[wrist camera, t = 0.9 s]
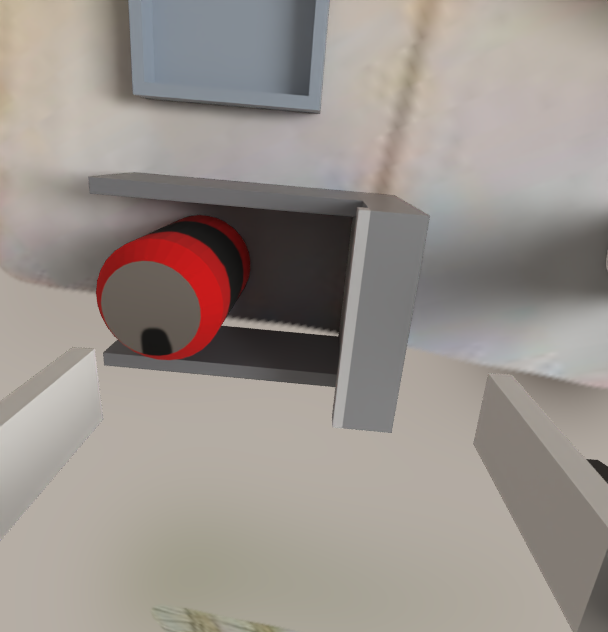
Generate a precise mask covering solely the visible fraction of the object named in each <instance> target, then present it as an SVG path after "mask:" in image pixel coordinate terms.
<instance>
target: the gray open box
mask: <svg viewBox="0 0 608 632" xmlns="http://www.w3.org/2000/svg"><path fill="white" fill-rule="evenodd" d="M89 189H90V193H91V194H102V195H114V196H125V197H136V198H147V199H159V200H170V201H181V202H192V203H204V204H215V205H226V206H238V207H249V208H260V209H271V210H283V211H294V212H305V213H316V214H328V215H339V216H350V217H352V226H351V234H350V243H349V251H348V260H347V268H346V277H345V285H344V294H343V302H342V311H341V319H340V328H339V336H338V337H337V336H326V335H315V334H305V333H293V332H283V331H271V330H261V329H251V328H250V329H249V328H240V327H228V326H221V327H220V328H219V330H218V332H217V333H216V335H215V336H214V338H213V339H212V340H211V342H210V343H209V344H208V345H207V346H205V347H204V348H203V349H202V350H201V351H199V352H197V353H195V354H194V355H192V356H189V357H185V358H182V359H176V360H157V359H153V358H149V357H145V356H143V355H141V354H138V353H136V352H134V351H132V350H131V349H129V348H128V347H126V346H125V345H123V344H122V343H121V342H120V341H119V340H117V341H116V342H115V343H113V344H112V345H111V346H110V347H109V348H108V349H107V350H106V351H104V353H103V356H104V365H107V366H108V365H109V366H119V367H129V368H139V369H151V370H160V371H171V372H182V373H192V374H203V375H213V376H224V377H234V378H245V379H256V380H266V381H277V382H287V383H298V384H309V385H320V386H330V387H336V388H335V396H334V404H333V413H332V427H335V428H347V429H356V430H367V431H378V432H388V433H392V427H393V421H394V416H395V410H396V404H397V399H398V393H399V387H400V381H401V376H402V371H403V365H404V359H405V353H406V348H407V342H408V337H409V331H410V325H411V320H412V314H413V309H414V303H415V297H416V292H417V286H418V280H419V275H420V269H421V263H422V258H423V252H424V247H425V241H426V235H427V230H428V224H429V218H430V216H429V215H427V214H426V213H424V212H422V211H421V210H419V209H417V208H416V207H414V206H412V205H411V204H409V203H407V202H405V201H404V200H402V199H400V198H399V197H397V196H395V195H386V194H374V193H363V192H352V191H340V190H329V189H318V188H306V187H295V186H284V185H272V184H261V183H249V182H238V181H227V180H215V179H204V178H193V177H181V176H170V175H158V174H147V173H136V172H133V173H122V174H112V175H101V176H91V177H89Z"/></svg>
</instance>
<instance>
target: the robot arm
mask: <svg viewBox="0 0 608 632" xmlns="http://www.w3.org/2000/svg"><path fill="white" fill-rule="evenodd" d="M102 420H103V414H102V405H101V396H100V388H99V380H98V371H97V363H96V354H95V349H92V348H75V347H72V348H71V349H69V350H68V351H67V352H65V353H64V354H63V355H61V356H60V357H59V358H57V359H56V360H55V361H53V362H52V363H51V364H49V365H48V366H47V367H46V368H44V369H43V370H42V371H40V372H39V373H37V374H36V375H35V376H33V377H32V378H31V379H29V380H28V381H27V382H25V383H24V384H23V385H21V386H20V387H19V388H17V389H16V390H15V391H13V392H12V393H11V394H9V395H8V396H7V397H5V398H4V399H2V400H1V401H0V541H1V540H2V538H3V537H4V536H5V535H6V534H7V533H8V531H9V530H10V529H11V528H12V526H13V525H14V524H15V523H16V522H17V521H18V520H19V518H20V517H21V516H22V515H23V513H24V512H25V511H26V510H27V509H28V508H29V507H30V505H31V504H32V503H33V502H34V501H35V499H36V498H37V497H38V496H39V495H40V494H41V492H42V491H43V490H44V489H45V488H46V486H47V485H48V484H49V483H50V482H51V480H52V479H53V478H54V477H55V476H56V475H57V473H58V472H59V471H60V470H61V469H62V467H63V466H64V465H65V464H66V463H67V462H68V461H69V459H70V458H71V457H72V456H73V455H74V453H75V452H76V451H77V450H78V448H79V447H80V446H81V445H82V444H83V442H84V441H85V440H86V439H87V438H88V437H89V436H90V434H91V433H92V432H93V431H94V430H95V429H96V427H97V426H98V425H99V424H100V422H102ZM474 446H475V448H476V450H477V452H478V453H479V455H480V457H481V459H482V461H483V463H484V465H485V467H486V469H487V470H488V472H489V474H490V476H491V478H492V480H493V482H494V484H495V486H496V487H497V489H498V491H499V493H500V495H501V497H502V499H503V501H504V503H505V504H506V506H507V508H508V510H509V512H510V514H511V516H512V518H513V520H514V521H515V523H516V525H517V527H518V529H519V531H520V533H521V535H522V536H523V538H524V540H525V542H526V544H527V546H528V548H529V550H530V552H531V553H532V555H533V557H534V559H535V561H536V563H537V565H538V567H539V569H540V571H541V572H542V574H543V576H544V578H545V580H546V581H547V584H548V586H549V587H550V589H551V591H552V593H553V595H554V597H555V599H556V600H557V603H558V604H559V606H560V608H561V610H562V612H563V614H564V616H565V617H566V620H567V621H568V623H569V625H570V627H571V629H572V631H573V632H608V466H606V465H605V464H603V463H602V462H600V461H598V460H591V459H590V460H589V459H585V458H584V456H583V455H582V454H581V453H580V452H579V451H578V450H577V449H576V447H575V446H574V445H573V444H572V443H571V442H570V440H569V439H568V438H567V437H566V436H565V435H564V434H563V433H562V431H561V430H560V429H559V428H558V427H557V426H556V425H555V423H554V422H553V421H552V420H551V419H550V418H549V417H548V415H547V414H546V413H545V412H544V411H543V410H542V409H541V407H540V406H539V405H538V404H537V403H536V402H535V401H534V400H533V398H532V397H531V396H530V395H529V394H528V393H527V392H526V390H525V389H524V388H523V387H522V386H521V385H520V384H519V382H517V380H516V379H515V378H514V377H513V376H512V375H508V374H492V373H489V374H488V377H487V382H486V387H485V391H484V396H483V401H482V406H481V410H480V415H479V420H478V425H477V429H476V434H475V439H474Z"/></svg>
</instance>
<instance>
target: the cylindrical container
mask: <svg viewBox="0 0 608 632" xmlns="http://www.w3.org/2000/svg"><path fill="white" fill-rule="evenodd" d="M606 268H607V271H608V250H607V256H606Z"/></svg>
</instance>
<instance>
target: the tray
mask: <svg viewBox="0 0 608 632" xmlns="http://www.w3.org/2000/svg"><path fill="white" fill-rule="evenodd" d="M128 1H129V22H130V43H131V64H132V85H133V95H137V96H140V97H143V98H146V99H156V100H167V101H179V102H191V103H202V104H214V105H226V106H237V107H249V108H261V109H273V110H284V111H296V112H308V113H319V114H320V108H321V96H322V85H323V73H324V61H325V50H326V38H327V26H328V15H329V3H330V0H128Z"/></svg>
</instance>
